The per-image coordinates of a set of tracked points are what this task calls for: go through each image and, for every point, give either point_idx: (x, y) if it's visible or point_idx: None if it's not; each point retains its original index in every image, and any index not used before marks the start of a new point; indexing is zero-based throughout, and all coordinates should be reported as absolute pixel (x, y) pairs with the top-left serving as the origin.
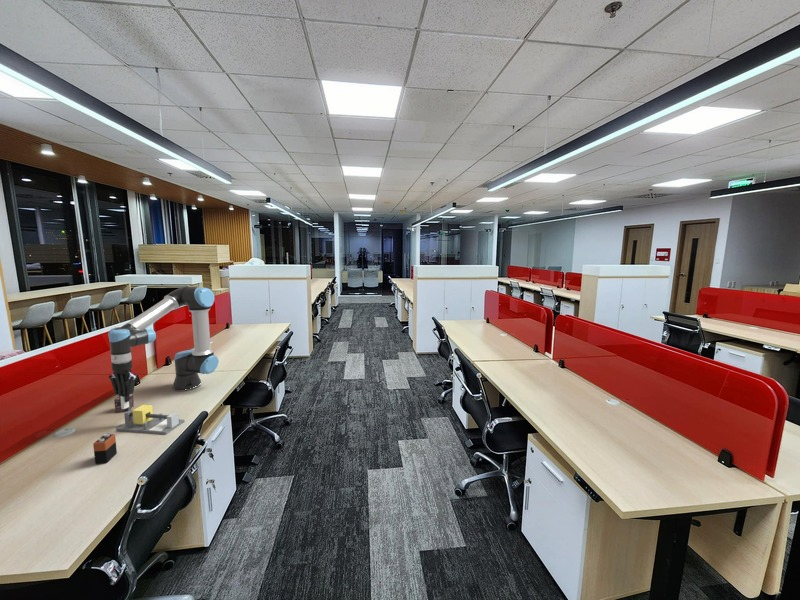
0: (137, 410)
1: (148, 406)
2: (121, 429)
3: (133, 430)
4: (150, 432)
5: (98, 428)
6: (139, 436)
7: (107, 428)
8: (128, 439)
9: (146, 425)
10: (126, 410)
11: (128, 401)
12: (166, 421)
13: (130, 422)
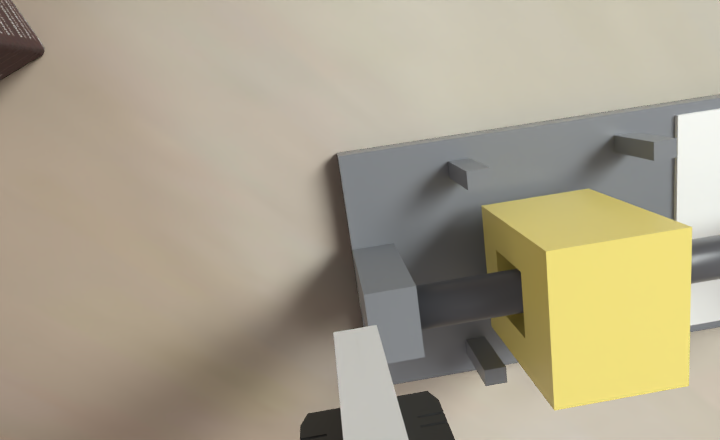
0: (615, 391)
1: (660, 266)
2: (419, 376)
3: None
4: None
5: (169, 394)
6: None
7: (246, 371)
8: (584, 430)
9: None
10: (24, 60)
11: (389, 372)
12: (715, 164)
13: (505, 371)
